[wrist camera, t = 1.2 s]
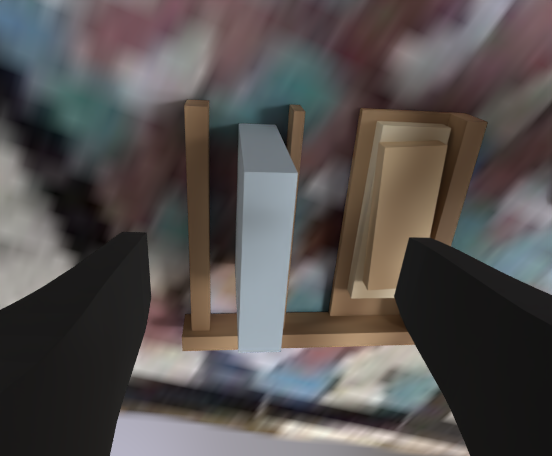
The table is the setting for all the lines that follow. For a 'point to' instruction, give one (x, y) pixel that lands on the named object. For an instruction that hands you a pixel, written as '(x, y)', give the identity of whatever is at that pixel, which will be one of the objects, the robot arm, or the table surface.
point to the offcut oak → (400, 205)
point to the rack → (342, 310)
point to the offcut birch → (383, 133)
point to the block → (262, 236)
